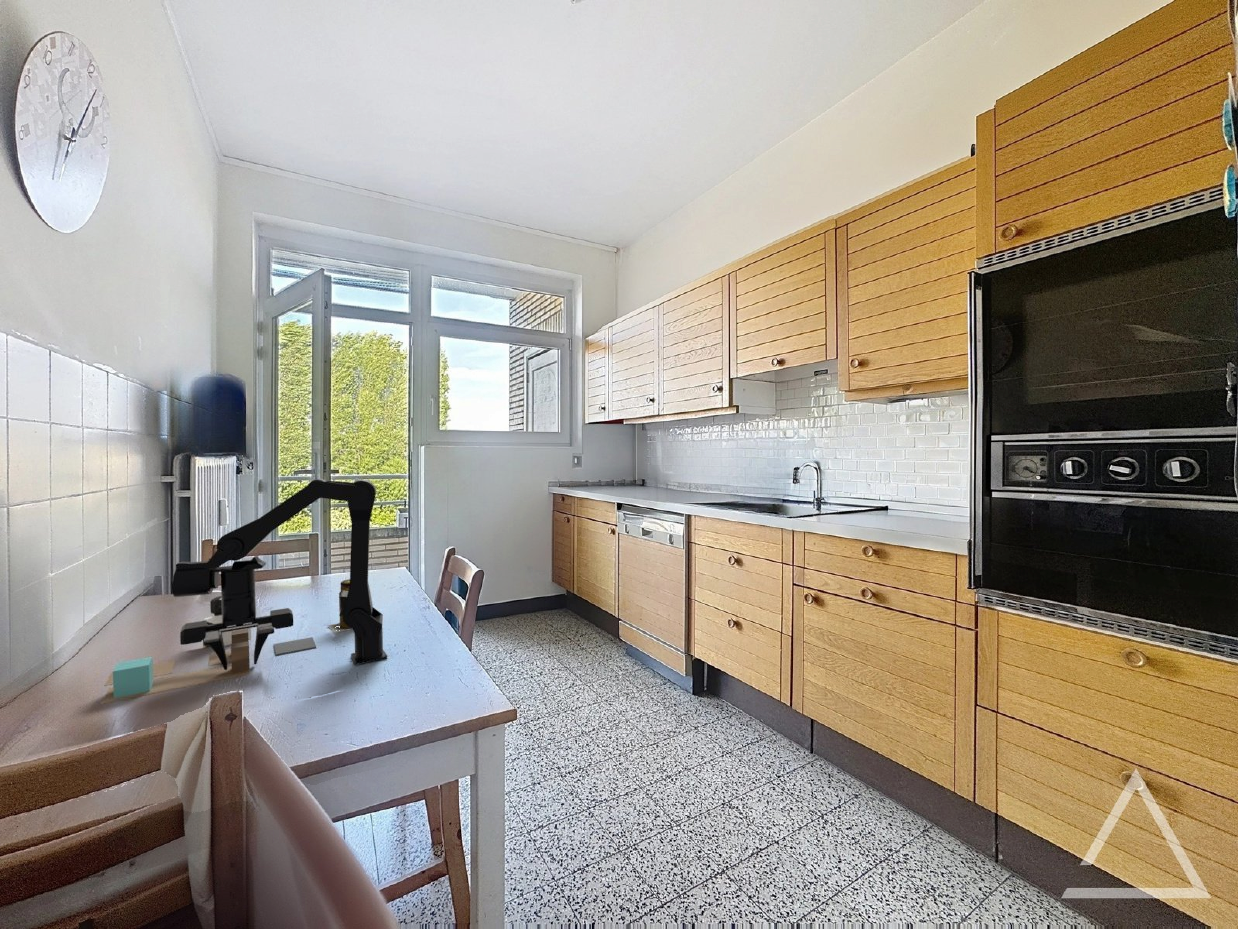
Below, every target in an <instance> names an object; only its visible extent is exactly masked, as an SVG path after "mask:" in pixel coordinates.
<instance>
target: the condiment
mask: <svg viewBox="0 0 1238 929" xmlns="http://www.w3.org/2000/svg"><path fill="white" fill-rule="evenodd" d="M339 585H340V589H339V590H340V591H339V593H338V598H339V599H338V600H339V601H338V604H339V605H338V606H339V608H338V609H339V613H340V611H341V601H340V596H341V593H342V591H343V590H344V591H348V590H349V586H350V578H349V579H345V580H342V581H341V582H340V583H339ZM336 626H340V628H339V627H336ZM327 627H328V628H329V629H330V630H331V631H333V632H334V633H336V634H337V633H340V632H344V631H349V630H353V629H352V628H350V627H348V626H347V625H346V624H344V622H343V615H341V616H339V623H335V624H334V623H332V624H329V625H327ZM335 627H336V628H335ZM336 630H337V631H336ZM339 630H340V631H339Z"/></svg>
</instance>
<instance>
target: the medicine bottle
mask: <svg viewBox="0 0 1238 929" xmlns="http://www.w3.org/2000/svg"><path fill="white" fill-rule="evenodd" d="M214 600H221V595H219V596H216V597H214V598H212V599H211V600H210V602H209V603H210V604H209V606H210V616H209V617H205V618H203V619H201V620H202V621H206V620H207V625H212V624H218V623H222V615H220V616H214ZM246 624H250V623H246ZM243 625H245V624H243ZM234 626H236V625H234ZM227 627H231V626H227ZM246 629H248V641H252V628H246ZM240 630H243V629H240ZM234 631H237V630H234ZM231 634H232V631H228V632H222V636H223V642H224V647H225V646H229V645H231V644H232V637H231ZM203 640H204V639H203ZM203 640H202V641H203ZM202 647H203V649H205V648H210V647H211V646H210V645H203V644H202Z"/></svg>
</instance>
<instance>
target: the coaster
mask: <svg viewBox="0 0 1238 929" xmlns="http://www.w3.org/2000/svg"><path fill="white" fill-rule="evenodd" d="M273 647H274V653H275V656H276V657H277V656H282V655H288V654H293V653H297V652H303V651H308V650H313V649H317V645H316V642H315V640H314V637H311V636H310V637H306V638H299V639H294V640H289V641H288V640H287V641H284V642H279V643H274V644H273Z"/></svg>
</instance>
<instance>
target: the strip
mask: <svg viewBox="0 0 1238 929" xmlns="http://www.w3.org/2000/svg"><path fill="white" fill-rule="evenodd" d="M249 641H250V640H248V642H242V643H237V644H230V651H231V662H230V663H231V664H227V670H225V669H224V667H223V666H218V667H212V668H207V669H201V670H197V671H196V670H195V671H190V672H187V673H182V674H181V673H180V674H175V675H170V676H165V677H159V678H155V679H154V678H153V684H152V687H151V690H150V691H149V692H144V693H139V694H134V695H129V696H124V697H120V698H115V699H114V691H113V687H109V688H108V690H107V692H106V694H105V696H104V697H103V699H102V701H101V703H100V705H105V704H110V703H114V702H118V701H124V700H128V699H134V698H138V697H139V698H140V697H144V696H149V695H153V694H159V693H164V692H168V691H174V690H178V689H182V688H183V689H184V688H187V687H192V686H197V685H202V684H207V683H212V682H217V681H222V680H227V679H233V678H237V677H242V676H247V675H250V674H251V667H250V642H249Z"/></svg>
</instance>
